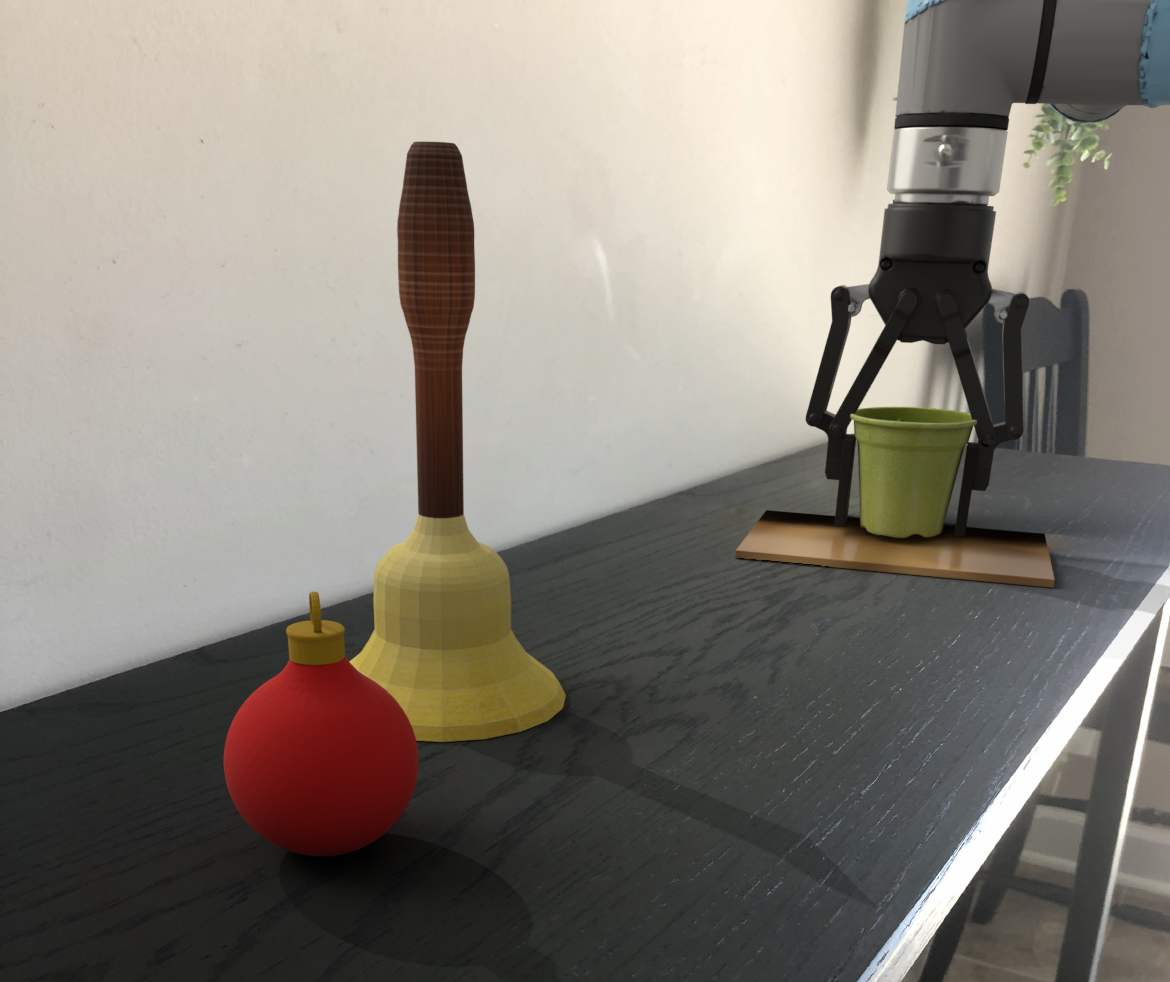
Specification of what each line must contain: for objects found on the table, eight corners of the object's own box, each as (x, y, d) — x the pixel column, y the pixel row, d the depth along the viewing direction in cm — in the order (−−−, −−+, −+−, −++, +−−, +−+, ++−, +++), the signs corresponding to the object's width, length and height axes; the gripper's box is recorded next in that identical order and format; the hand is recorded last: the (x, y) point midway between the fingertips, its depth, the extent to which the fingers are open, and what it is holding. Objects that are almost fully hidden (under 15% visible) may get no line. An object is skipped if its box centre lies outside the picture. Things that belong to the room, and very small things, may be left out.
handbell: (470, 643, 72) (465, 152, 62) (616, 704, 64) (639, 148, 53) (274, 687, 64) (232, 137, 54) (411, 763, 56) (391, 129, 46)
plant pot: (817, 533, 95) (829, 414, 92) (865, 512, 103) (877, 401, 99) (938, 551, 91) (955, 427, 87) (979, 528, 98) (996, 413, 94)
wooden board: (1041, 532, 102) (1043, 525, 102) (1053, 588, 86) (1054, 579, 86) (770, 509, 108) (771, 502, 107) (734, 558, 92) (735, 549, 92)
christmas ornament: (435, 878, 46) (429, 615, 42) (235, 900, 44) (209, 627, 40) (405, 799, 53) (397, 562, 48) (229, 816, 51) (205, 571, 47)
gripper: (781, 195, 87) (755, 526, 96) (1107, 203, 81) (1046, 551, 91) (795, 198, 93) (769, 507, 102) (1097, 205, 88) (1041, 529, 97)
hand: (899, 527), depth 97 cm, fingers closed on plant pot, 8 cm apart
